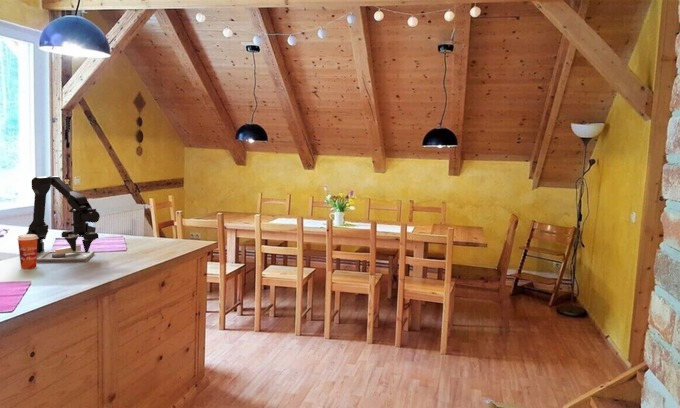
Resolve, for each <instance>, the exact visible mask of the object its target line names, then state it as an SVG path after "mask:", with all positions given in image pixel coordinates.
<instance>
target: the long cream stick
mask: <svg viewBox="0 0 680 408" xmlns="http://www.w3.org/2000/svg"><path fill="white" fill-rule="evenodd" d="M54 251H55V253H54V254H52V257H64V256H66V253H72V252H77V251H82V246H81V245H80V244H76V251H73V250H72V248H71V247H70V246H67V247H61V248H55V249H54Z"/></svg>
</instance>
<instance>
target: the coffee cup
mask: <svg viewBox="0 0 680 408" xmlns="http://www.w3.org/2000/svg"><path fill="white" fill-rule="evenodd" d="M37 239H38V237H37V235H35V234H27V233H25V234H19V235H18V237H17V238H16V240H17V243H18V251H19V252H18V253H19V261H20V262H19V263H20V268H21V269H22V270H31V269H35V268H37V264H38V263H37V258H38V253H37Z"/></svg>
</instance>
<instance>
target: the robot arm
mask: <svg viewBox="0 0 680 408" xmlns="http://www.w3.org/2000/svg"><path fill="white" fill-rule="evenodd" d="M51 186H52V187H53V188H54V189H56V190H57V191H58V192H59V193H60V194H61V195H62V196H64V198H65V199H66V203H67V204H68V205H69V207H71V208H70V210H68V212H69V213H72V223H70V226H71V227H72V229H71V230H65V231H62V232H61V234H60V235H61V238H64V240H65V241H66V243H68V245H69V247H71V248H72V250H73V251H76V245H77V239H78V238H83V239H82V245H83V249H84V250H83V251H85V252H86V253H88V251H90V247H91V245H92V242H93V241H95V240H96V239H99V233H98V232H96V230H97V227H96V226H95V227H94V226H91V225H89V223H97V222H99V220H100V217H101V216H100V213H99V211H97V208H92V205H91V204H90V203H89V200H88V198H87V197H86V196H85V195H83V194H81V193H79V192H76V191H75V190H74V189H72V188H71V187H70V186H69V185H68V184H67V183H66V182H64V181H63V180H62V178H61V177H60V176H58V175H52V176H51V175H50V176H36V177H33V178H32V180H31V189H32V192H33V193H34V201H33V204H34V205H33V215H32V221H31V223H30V224H29V225H28V229H27V230H28V231H27V232H26V234H35V235H37V237H38V239H37V254H40V253H42V252H44V251H45V243H44V241H43V240H46V237H47V235H48V233H49V224H47V223H46V222H45V215H46V212H45V211H46V202H47V194H48V193H49V191H50V190H51Z"/></svg>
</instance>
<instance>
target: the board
mask: <svg viewBox="0 0 680 408" xmlns="http://www.w3.org/2000/svg"><path fill="white" fill-rule="evenodd" d="M54 253H55V250H54V251H53V250H51V251H49V250H48V251H46V252H45V253H43V254H41V255H40V256H37V263H36V264H38V263H39V264H40V263H41V264H42V263H43V264H44V263H86V262H88V261H89V260H90V259H91V258H92V257H93V256H94V255H95V250H88V253H86V252H85V250H81V251H77V252H72V253H66V256H64V257H52V254H54Z"/></svg>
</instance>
